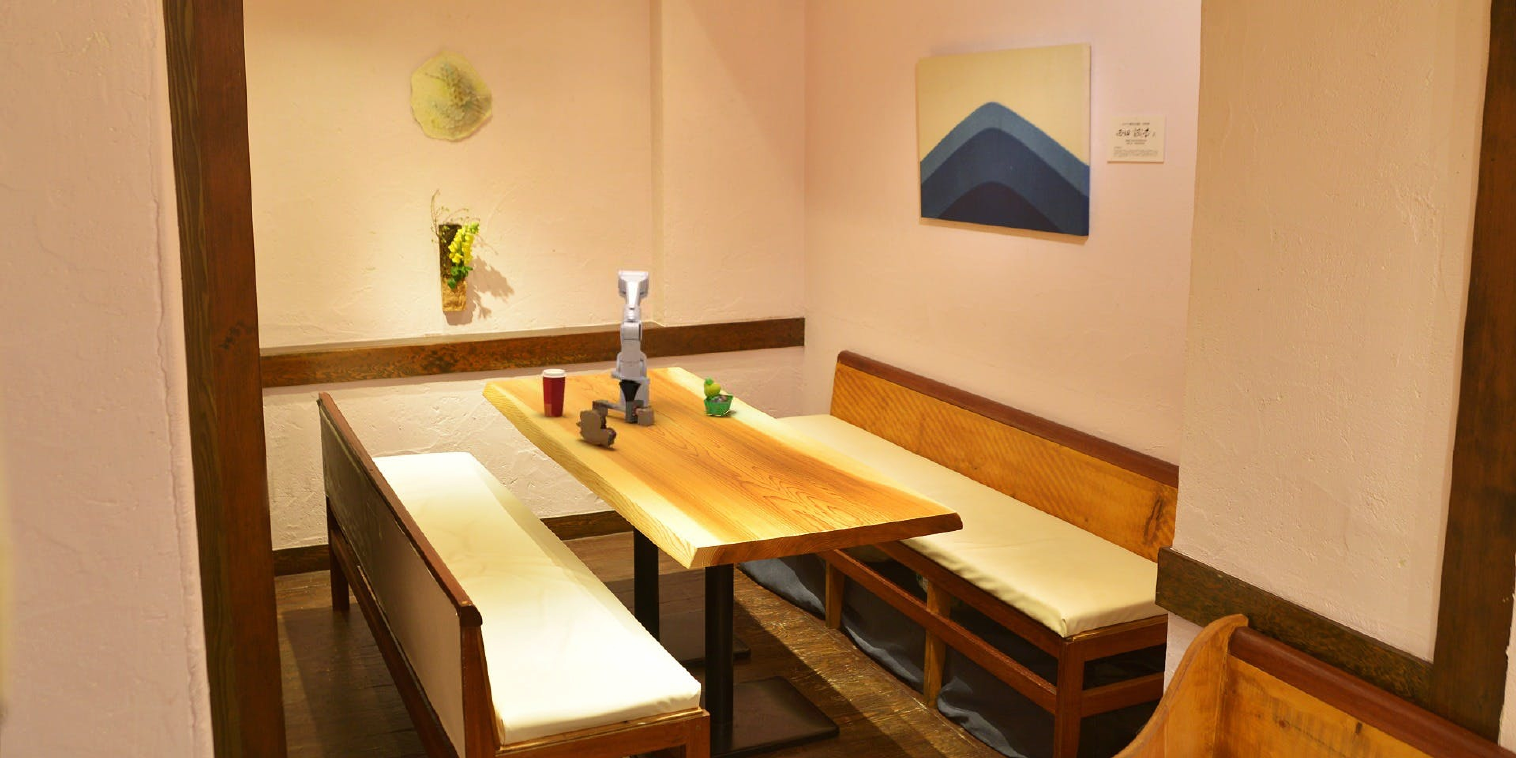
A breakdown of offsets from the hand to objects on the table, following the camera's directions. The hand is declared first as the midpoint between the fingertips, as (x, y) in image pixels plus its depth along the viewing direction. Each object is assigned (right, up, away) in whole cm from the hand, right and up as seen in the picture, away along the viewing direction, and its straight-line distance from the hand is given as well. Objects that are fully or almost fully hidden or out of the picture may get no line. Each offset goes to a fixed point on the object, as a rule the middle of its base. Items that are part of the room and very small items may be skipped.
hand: (629, 404), depth 397 cm
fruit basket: (+26, -3, +16) cm, 31 cm away
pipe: (-2, -5, +3) cm, 6 cm away
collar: (+1, -5, 0) cm, 6 cm away
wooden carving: (-7, -11, -29) cm, 31 cm away
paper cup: (-24, -4, +5) cm, 25 cm away
